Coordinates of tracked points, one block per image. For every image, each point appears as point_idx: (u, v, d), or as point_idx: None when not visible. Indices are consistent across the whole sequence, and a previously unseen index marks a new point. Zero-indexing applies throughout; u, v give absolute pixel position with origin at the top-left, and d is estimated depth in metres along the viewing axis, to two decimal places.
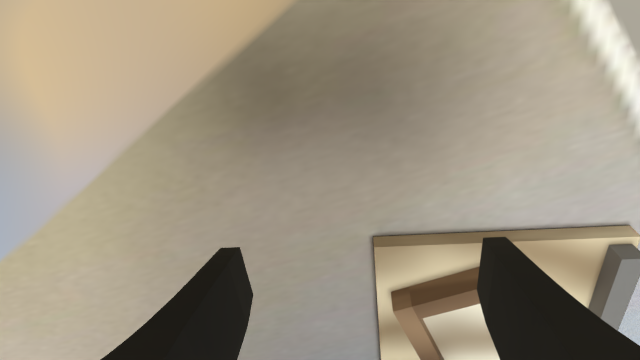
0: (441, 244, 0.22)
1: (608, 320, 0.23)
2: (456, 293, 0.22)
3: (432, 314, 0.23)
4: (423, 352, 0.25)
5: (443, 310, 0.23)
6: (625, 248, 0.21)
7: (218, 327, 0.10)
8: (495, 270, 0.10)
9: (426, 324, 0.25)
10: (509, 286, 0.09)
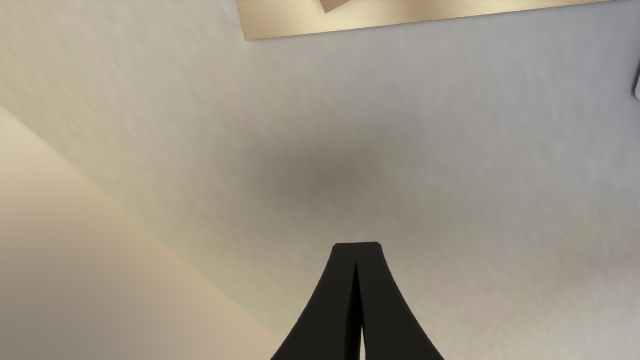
0: None
1: None
2: None
3: None
4: None
5: None
6: None
7: (354, 326, 0.09)
8: (357, 274, 0.10)
9: None
10: None
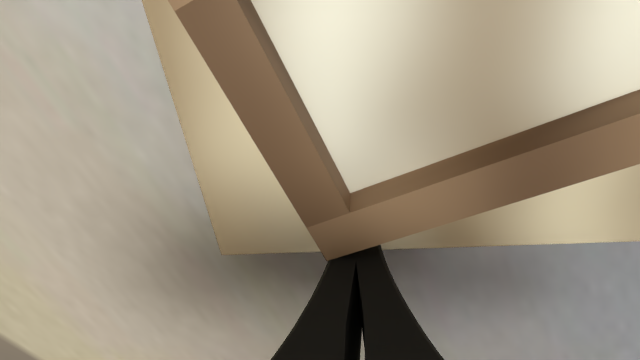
0: (188, 147, 0.11)
1: None
2: None
3: (329, 186, 0.09)
4: (487, 195, 0.09)
5: (312, 163, 0.09)
6: None
7: (354, 326, 0.09)
8: (357, 274, 0.10)
9: (410, 170, 0.10)
10: (359, 290, 0.09)
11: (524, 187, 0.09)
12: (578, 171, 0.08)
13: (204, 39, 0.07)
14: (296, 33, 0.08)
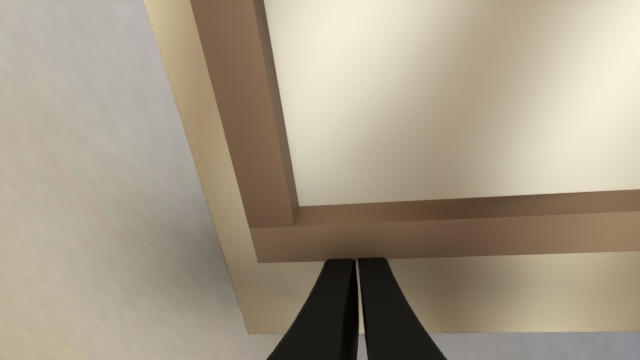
0: (224, 255, 0.13)
1: None
2: None
3: (283, 197, 0.09)
4: (419, 245, 0.10)
5: (275, 172, 0.09)
6: None
7: (351, 325, 0.09)
8: (359, 274, 0.10)
9: (359, 202, 0.10)
10: (361, 290, 0.09)
11: (451, 247, 0.10)
12: (497, 246, 0.10)
13: (208, 25, 0.07)
14: (297, 48, 0.08)
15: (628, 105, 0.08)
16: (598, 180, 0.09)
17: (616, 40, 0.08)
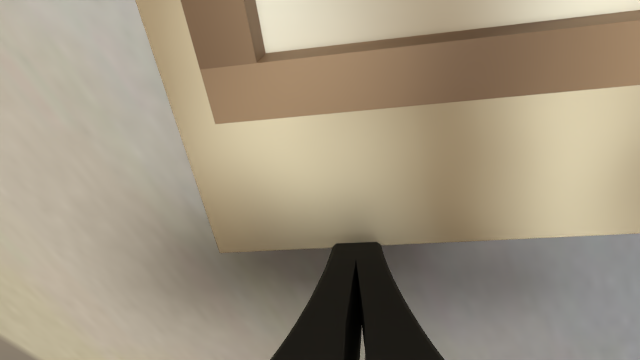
0: None
1: None
2: None
3: (239, 16, 0.07)
4: (415, 84, 0.08)
5: None
6: None
7: (354, 326, 0.09)
8: (357, 274, 0.10)
9: (340, 42, 0.08)
10: None
11: (455, 86, 0.08)
12: (515, 81, 0.07)
13: None
14: None
15: None
16: None
17: None
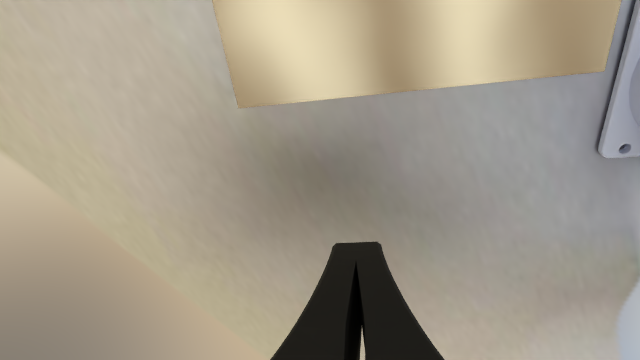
0: (217, 20, 0.16)
1: None
2: None
3: None
4: None
5: None
6: None
7: (354, 326, 0.09)
8: (357, 274, 0.10)
9: None
10: None
11: None
12: None
13: None
14: None
15: None
16: None
17: None
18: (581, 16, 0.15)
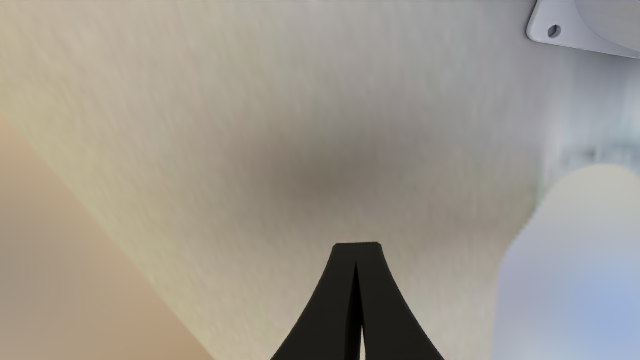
0: None
1: None
2: None
3: None
4: None
5: None
6: None
7: (354, 326, 0.09)
8: (357, 274, 0.10)
9: None
10: None
11: None
12: None
13: None
14: None
15: None
16: None
17: None
18: None
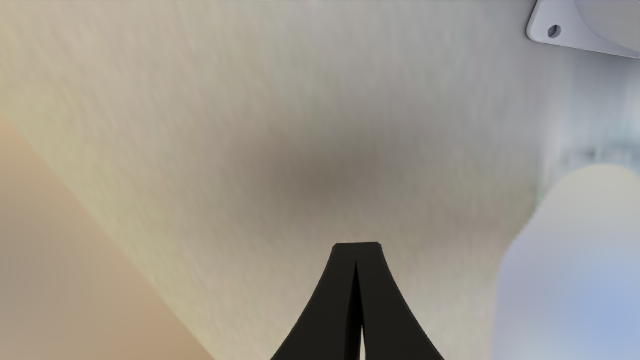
0: None
1: None
2: None
3: None
4: None
5: None
6: None
7: (354, 326, 0.09)
8: (357, 274, 0.10)
9: None
10: None
11: None
12: None
13: None
14: None
15: None
16: None
17: None
18: None
